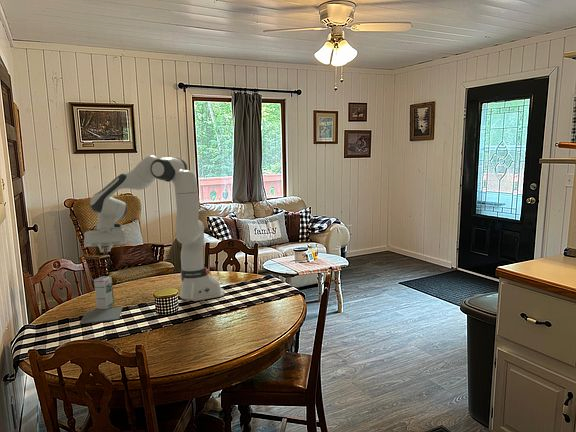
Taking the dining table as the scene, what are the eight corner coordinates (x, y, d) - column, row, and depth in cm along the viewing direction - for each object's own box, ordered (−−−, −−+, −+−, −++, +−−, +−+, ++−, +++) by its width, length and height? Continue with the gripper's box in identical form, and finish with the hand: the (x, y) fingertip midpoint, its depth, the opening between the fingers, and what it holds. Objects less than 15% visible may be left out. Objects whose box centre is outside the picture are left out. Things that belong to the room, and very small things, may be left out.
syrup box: (107, 309, 201) (104, 279, 199) (96, 308, 202) (93, 279, 201) (114, 305, 207) (112, 276, 205) (103, 304, 208) (101, 275, 206)
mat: (122, 307, 203) (122, 306, 203) (119, 319, 188) (119, 318, 188) (86, 311, 199) (85, 311, 199) (79, 324, 183) (79, 323, 183)
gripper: (83, 227, 218) (81, 249, 210) (125, 224, 223) (125, 246, 215) (85, 234, 223) (83, 256, 215) (127, 231, 228) (127, 253, 220)
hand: (105, 251), depth 215 cm, fingers closed
